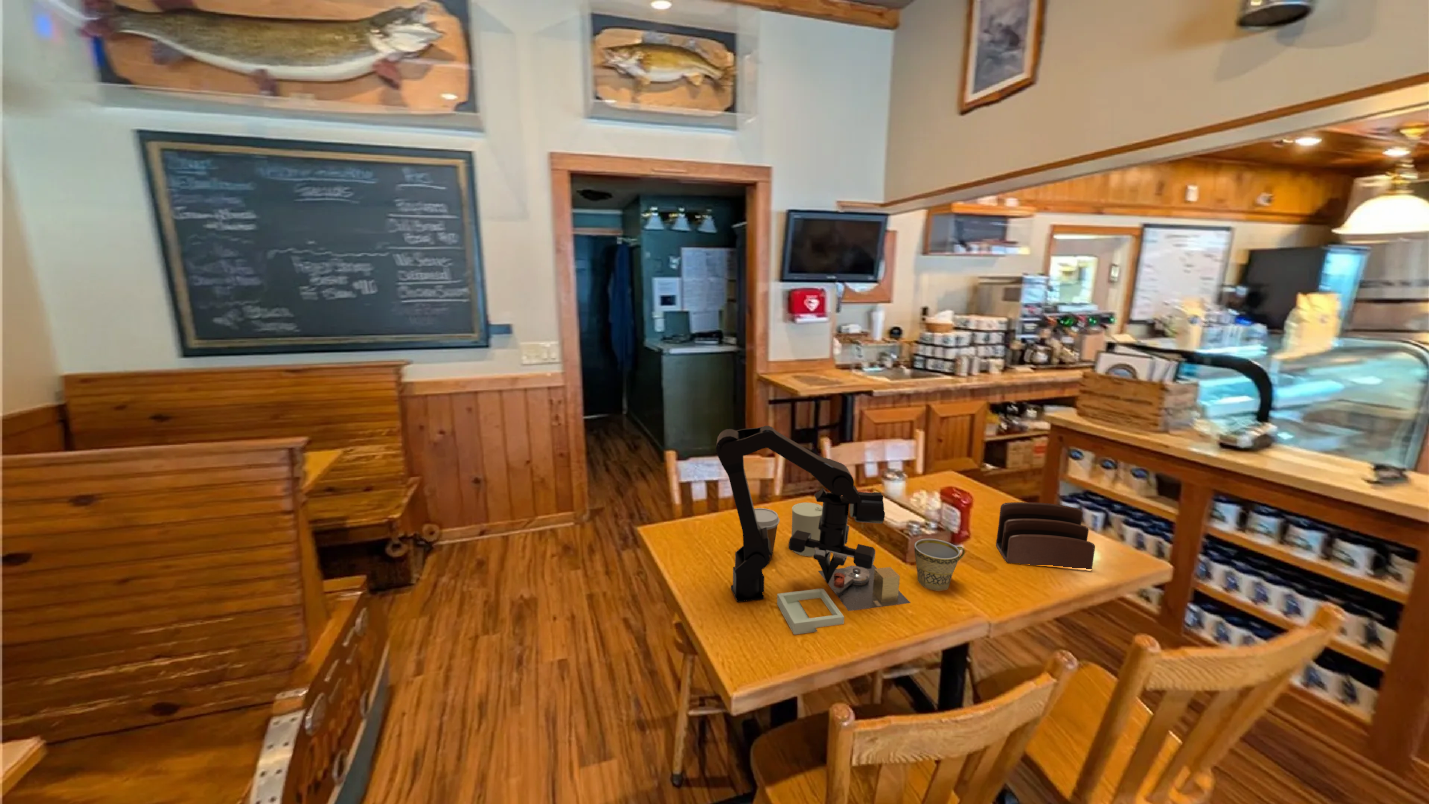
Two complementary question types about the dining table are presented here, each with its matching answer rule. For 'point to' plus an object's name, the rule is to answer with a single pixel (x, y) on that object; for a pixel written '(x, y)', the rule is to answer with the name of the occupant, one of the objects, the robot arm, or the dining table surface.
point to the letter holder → (1044, 535)
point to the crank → (850, 577)
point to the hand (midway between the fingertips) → (828, 582)
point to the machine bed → (862, 593)
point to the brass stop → (886, 584)
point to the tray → (799, 617)
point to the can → (807, 522)
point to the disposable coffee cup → (768, 523)
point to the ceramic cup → (936, 562)
